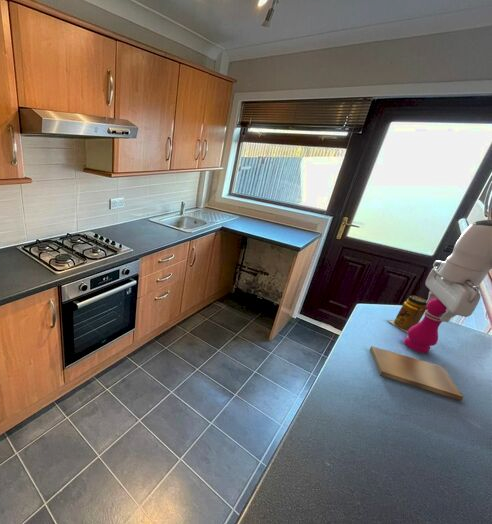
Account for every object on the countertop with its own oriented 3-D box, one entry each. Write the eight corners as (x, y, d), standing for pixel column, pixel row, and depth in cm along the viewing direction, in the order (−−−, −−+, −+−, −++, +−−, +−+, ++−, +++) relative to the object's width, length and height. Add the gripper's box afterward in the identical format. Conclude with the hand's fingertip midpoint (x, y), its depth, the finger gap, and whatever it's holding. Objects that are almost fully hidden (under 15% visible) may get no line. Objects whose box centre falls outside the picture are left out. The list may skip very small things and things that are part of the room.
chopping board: (440, 370, 85) (443, 366, 84) (460, 400, 75) (463, 396, 74) (369, 349, 91) (371, 345, 91) (379, 375, 81) (381, 371, 81)
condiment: (387, 320, 107) (401, 294, 102) (405, 319, 108) (420, 293, 103) (406, 333, 101) (422, 305, 95) (425, 332, 102) (442, 304, 97)
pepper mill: (402, 336, 99) (431, 287, 90) (430, 347, 94) (463, 297, 86) (400, 345, 94) (430, 295, 85) (429, 357, 89) (464, 305, 81)
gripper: (497, 292, 72) (466, 334, 78) (457, 263, 89) (434, 299, 95) (465, 286, 75) (437, 327, 81) (432, 259, 92) (411, 294, 98)
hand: (436, 312), depth 88 cm, fingers open, 8 cm apart
